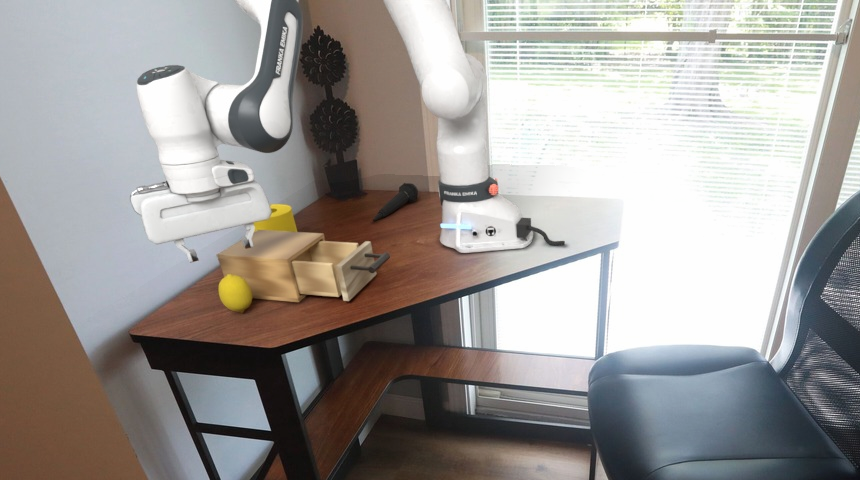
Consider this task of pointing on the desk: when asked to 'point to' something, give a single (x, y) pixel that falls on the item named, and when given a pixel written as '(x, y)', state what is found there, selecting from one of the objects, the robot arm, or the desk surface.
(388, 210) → the microphone
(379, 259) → the drawer
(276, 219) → the tape roll
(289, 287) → the cabinet
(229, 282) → the lemon
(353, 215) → the desk surface
